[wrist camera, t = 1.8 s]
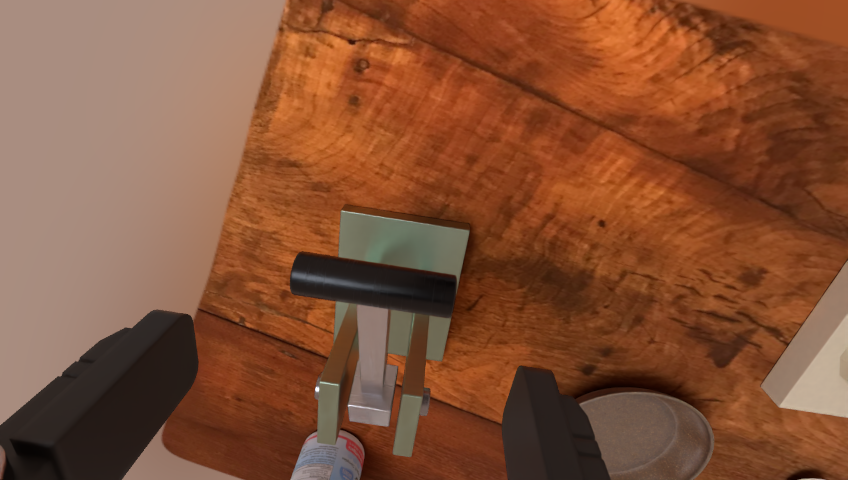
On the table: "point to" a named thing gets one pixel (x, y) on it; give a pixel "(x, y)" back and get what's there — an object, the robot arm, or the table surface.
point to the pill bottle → (330, 459)
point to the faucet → (812, 479)
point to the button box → (816, 358)
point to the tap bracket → (409, 332)
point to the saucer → (648, 434)
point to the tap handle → (373, 316)
